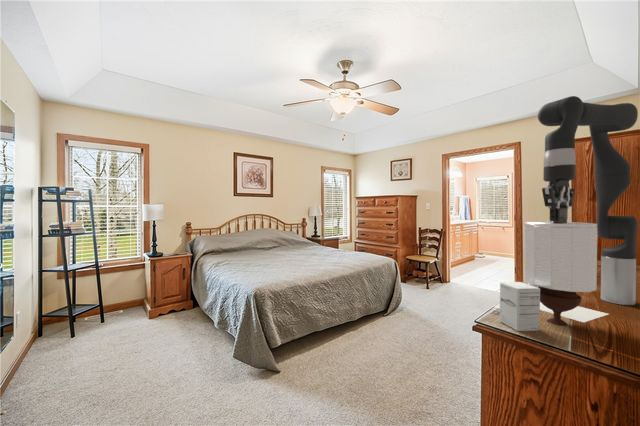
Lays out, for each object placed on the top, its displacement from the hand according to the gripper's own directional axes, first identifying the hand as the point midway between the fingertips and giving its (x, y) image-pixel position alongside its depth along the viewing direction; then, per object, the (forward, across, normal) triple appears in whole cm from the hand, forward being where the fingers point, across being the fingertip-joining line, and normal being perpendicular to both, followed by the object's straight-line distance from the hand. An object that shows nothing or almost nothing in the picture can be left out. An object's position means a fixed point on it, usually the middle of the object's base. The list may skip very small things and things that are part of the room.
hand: (558, 220), depth 87 cm
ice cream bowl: (+32, 0, 0) cm, 32 cm away
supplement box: (+32, +13, -4) cm, 35 cm away
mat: (+32, -16, -5) cm, 36 cm away
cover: (+20, 0, 0) cm, 20 cm away
